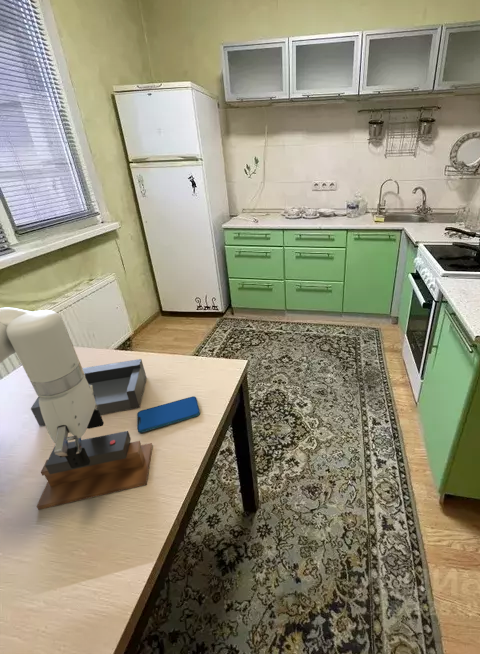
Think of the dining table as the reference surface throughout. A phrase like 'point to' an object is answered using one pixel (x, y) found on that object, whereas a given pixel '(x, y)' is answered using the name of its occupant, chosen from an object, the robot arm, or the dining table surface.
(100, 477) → the stepped wooden stand
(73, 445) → the remote
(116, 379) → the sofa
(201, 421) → the dining table surface
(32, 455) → the dining table surface
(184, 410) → the smartphone
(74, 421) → the robot arm
